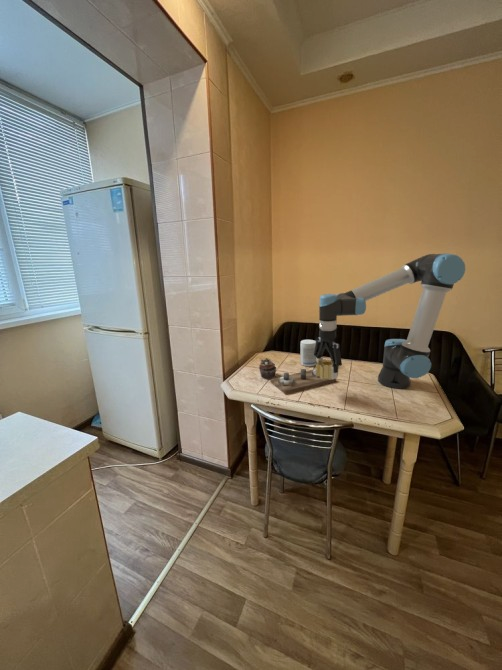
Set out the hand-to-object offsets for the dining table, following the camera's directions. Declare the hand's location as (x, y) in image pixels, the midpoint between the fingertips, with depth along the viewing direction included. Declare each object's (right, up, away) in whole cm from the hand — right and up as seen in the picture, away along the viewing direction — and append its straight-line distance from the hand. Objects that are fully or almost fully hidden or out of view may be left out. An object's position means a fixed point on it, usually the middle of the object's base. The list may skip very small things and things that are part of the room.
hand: (326, 374), depth 132 cm
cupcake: (-26, -5, +27) cm, 38 cm away
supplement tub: (0, 0, +42) cm, 42 cm away
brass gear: (0, 0, 0) cm, 0 cm away
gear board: (-8, -6, +18) cm, 20 cm away
